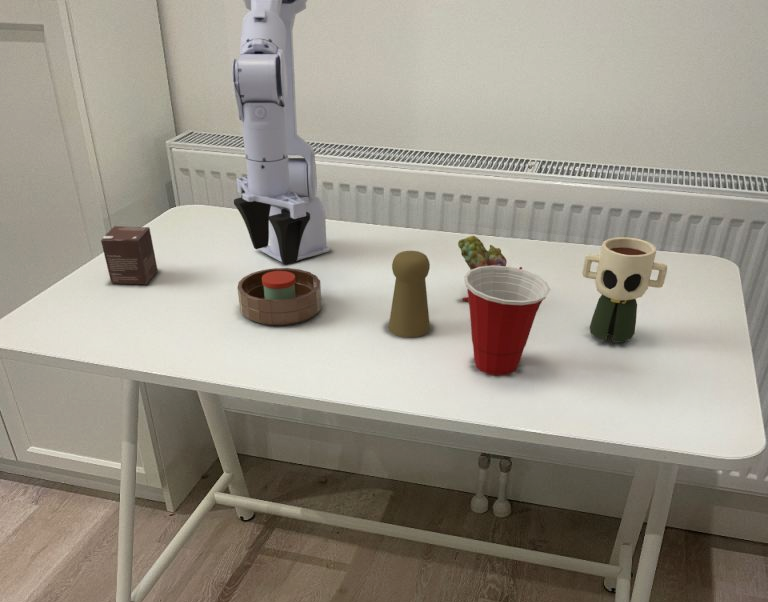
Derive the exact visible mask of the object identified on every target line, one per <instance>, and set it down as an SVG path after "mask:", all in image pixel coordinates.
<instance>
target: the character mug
mask: <svg viewBox="0 0 768 602" xmlns="http://www.w3.org/2000/svg"><path fill="white" fill-rule="evenodd" d="M656 253H657V247H656V246H655V245H654V244H652V242H651V241H646V240H644V239H640V238H636V237H629V236H627V237H625V236H617V237H611V238H608V239H605V240H604V241H603V242H602V243H601V248H600V252H599V254H591V253H589V254H586V255H585V257H584V262H583V268H582V277H583V278H585V279H593V280H594V283H595V287H596V291H597V292H598V293H599V294H600V296H599V298H598V299H597V303H596V306H595V309H594V311H593V315H592V318H591V321H590V324H589V333H590V334H591V335H592V336H593V337H594V338H596V339H598V340H601V341H605V342H606V341H607V336H610V337H612V338H611V339H612V340H611V341H612V343H624V342H626V341H630V340H632V339H633V337H634V335H635V334H636V328H637V327H636V325H637V314H638V303H637V302H638V301H637V299H639V298H642V297H643V296H644V295H645V293H646V292H647V291H648V289H649V288H662V287H663V286H664V284H665V281H666V277H667V273H668V265H667V264H665V263H661V262H660V263H659V262H655V259H656ZM592 263H597V269H596V271H591V269H592V268H591V267H592ZM653 271H658V274H657V278H656V279H651V276H652V272H653Z"/></svg>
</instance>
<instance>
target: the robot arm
mask: <svg viewBox="0 0 768 602" xmlns="http://www.w3.org/2000/svg"><path fill="white" fill-rule="evenodd" d="M242 2H243V3H244V6H245V8H246V9H247V10H248V12H247V13H246V14H245V16H244V17H243V19H242V22H241V31H240V43H239V54H238V58H233V59H232V64H231V67H232V68H231V79H232V88H233V89H232V90H233V94H234V97H235V101H236V105H237V115H238V119H239V121H241V128H242V137H243V147H244V148H243V149H244V156H245V165H246V166H245V167H246V176H242V177H237V178H236V179H235V180H236V188H237V190H236V191H237V193H239V194H241V197H237V198H235V199H233V205H234V206H235V208H236V209H237V210H238V211H237V212H239V214H240V216H241V218H242V219H243V220H242V221H243V222H244V224H245V227H246V229H247V232H248V235H249V238H250V241H251V244H252V246H253V249H255V250H260V252H262V253H263V254H266V255H267V256H268V257H271V258H273V259H275V260H276V261H279V262H280V263H282V264H283V265H284V266H288V265H292V264H295V263H298V261H300V260H305V259H308V258H311V257H314V256H317V255H321V254H325V253H327V252H330V248H329V247H327V225H326V224H327V223H326V211H325V207H324V205H323V202H322V200H320V198H319V197H318V196H317V192H318V188H317V187H318V182H317V181H318V177H317V163H316V155H315V154H316V153H315V150H314V147H313V146H312V145H311V144H310V143H308V142H307V141H306V140H305V139H303V138H302V137H301V136H300V135H299V134H298V128H297V127H298V126H297V123H298V122H297V102H296V100H297V99H296V80H295V79H296V78H295V77H296V76H295V56H294V55H295V54H294V34H293V31H294V25H295V19H296V15H297V14H299V13H301V12H303V11H304V10H306V9H307V2H308V0H242ZM289 156H300V157H289Z"/></svg>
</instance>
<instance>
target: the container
mask: <svg viewBox="0 0 768 602" xmlns="http://www.w3.org/2000/svg"><path fill="white" fill-rule="evenodd" d="M262 284H263V285H264V295H265V299H268V300H285V299H291V298H296V296H295V275H294V274H293V273H291V272H287V271H272V272H269V273H266V274H264V275H263V276H262Z"/></svg>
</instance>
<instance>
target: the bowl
mask: <svg viewBox="0 0 768 602" xmlns="http://www.w3.org/2000/svg"><path fill="white" fill-rule="evenodd" d="M272 271H287V272H291V273H293V274H294V275H295V296H296V298H291V299H285V300H268V299H265V295H264V285H263V284H262V276H263V275H264V274H266V273H269V272H272ZM321 286H322V285H321V279H319V277H318V276H317V275H315V274H314V273H312V272H310V271H306V270H302V269H299V268H290V267H280V268H279V267H275V268H267V269H261V270H257V271H254V272H251V273H249V274H247V275H245V276H244V277H242V278H241V279H240V280H239V281H238V283H237V288H236V289H237V295H238V305H239V311H240V312H241V314H242V315H243V317H246V318H247V319H248V320H250V321H253V322H255V323H257V324H261V325H267V326H289V325H290V326H291V325H295V324H299V323H303V322H305V321H307V320H309V319H311V318H313V317H314V316H315V315H317V314H318V313H319V312H320V310H321V309H322V287H321Z"/></svg>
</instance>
